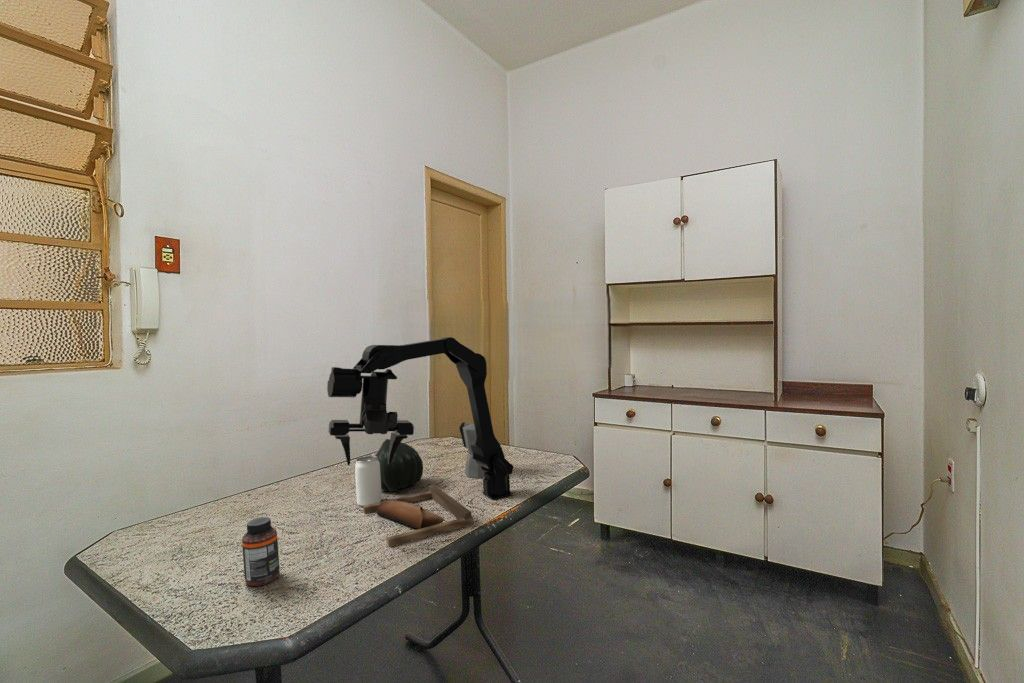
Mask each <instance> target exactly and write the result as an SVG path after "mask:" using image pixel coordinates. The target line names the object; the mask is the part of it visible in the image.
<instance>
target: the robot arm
mask: <svg viewBox="0 0 1024 683" xmlns="http://www.w3.org/2000/svg"><path fill="white" fill-rule="evenodd" d="M440 354H444V355H445V356H446V357H447V358H448V360H449V361H450V362H452V363H453V364H454V365H455V366H456V369H457V372H458V374H459V377H460V379H461V381H462V382H463V384H464V385H465V387H466V389H467V395H468V400H469V404H470V409H471V416H472V420H473V424H474V426H475V431H476V436H477V439H476V443H475V444H474V445H471V449H472V452H473V459H474V460H476V462H477V464H479V465H480V466H481V469H482V470H483V471H486V472H485V473H484V478H482V487H483V491H482V494H483V495H484V496H486V497H488V498H489V499H491V500H497V499H502V498H506V497H509V496H512V495H513V496H514V492H513V491H511V478H510V475H512V474H513V471H514V465H513V464H512V463H510V461H508V459H506V457H505V453H504V451H503V448H502V446H501V444H500V442H499V440H498V439H497V438H496V436H495V433H494V428H493V423H492V417H491V411H490V407H489V401H488V397H487V392H486V391H487V390H486V387H485V385H486V384H485V383H486V379H487V376H488V371H487V370H488V369H487V368H488V367H487V365H488V364H487V360H486V357H485V356H483V355H482V354H481V353H476V352H475V351H473V350H472V349H471V348H469V347H467V346H465V345H464V344H462V343H461V342H460V341H458V340H457V339H456V338H454V337H452V336H451V337H450V336H447V337H442V338H438V339H431V340H425V341H419V342H412V343H407V344H401V345H398V344H397V345H396V344H395V345H393V344H389V345H388V344H371V345H367V346H366V347H365V349H364V350H363V352H362V355H361V358H360V360H359V361H357V363H356V364H355V365H354V366H353V368H342V367H338V366H333V367H331V370H330V371H331V372H330V374H329V377H328V380H327V387H326V388H327V397H328V398H350V399H351V398H356V397H357V395H360V394H361V400H360V413H359V423H350V422H349V420H348V419H332V420H330V421H329V422H328V430H327V431H328V434H329V435H330V436H333V437H334V438H335V439H336V440H340V442H341V445H342V448H343V451H344V455H345V460H346V464H347V467H348V466H350V465H351V445H350V444H351V442H350V441H351V436H350V435H349V432H364V433H365V434H367V435H373V434H374V435H375V434H376V435H377V434H380V435H387V434H388V432H390V438H389V439H390V445H389V452H388V464H391V461H392V459H393V456H394V454H395V452H396V449H397V447H398V445H399V444H400V442H402V441H403V440H404V439H408V436H412V435H413V436H414V432H415V431H414V430H415V429H414V427H415V426H414V424H413V422H411V421H409V420H408V419H407V420H405V419H402V420H399V419H398V411H387V398H388V388H389V386H388V385H389V380H397V379H398V376H397V375H396V374H394V372H393V371H392V369H391V368H392V367H393V366H396V365H398V364H400V363H402V362H405V361H408V360H409V361H410V360H413V359H419V358H424V357H430V356H435V355H436V356H437V355H440ZM377 370H385V371H377ZM362 374H370V375H362Z"/></svg>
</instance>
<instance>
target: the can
mask: <svg viewBox="0 0 1024 683" xmlns="http://www.w3.org/2000/svg"><path fill="white" fill-rule="evenodd" d="M355 461H356V463H355V465H354V472H355V473H354V475H355V476H354V477H355V489H356V490H355V492H356V494H355V495H356V504H357V505H358V506H359V505H360V507H363V506H366V505H370V504H375V503H379V502H382V498H383V496H382V489H381V475H380V463H379V461H378V457H377V456H375V455H366V456H361V457H358V458H357V459H356V460H355Z"/></svg>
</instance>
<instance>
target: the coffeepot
mask: <svg viewBox="0 0 1024 683" xmlns="http://www.w3.org/2000/svg"><path fill="white" fill-rule="evenodd" d="M458 428H459V432H460V437H461V440H462V444H463V447H464V448H465V449H467V454H466V462H465V467H464V468H465V470H464V475H465V476H466V477H467V478H471V479H484V478H483V477H484V473H485V472H486V471H483V470H482V469H481V466H480V465H479V464H477V462H476V460H474V459H473V452H472V449H471V445H474V444H475V443H476V439H477V436H476V431H475V426H474V423H470V422H464V421H463V422H461V424H460V425H459V427H458Z"/></svg>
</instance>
